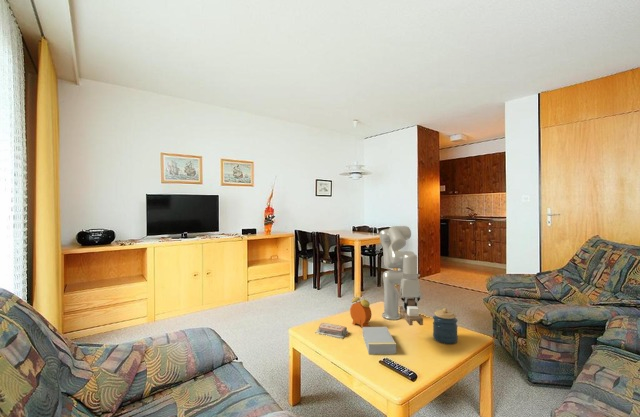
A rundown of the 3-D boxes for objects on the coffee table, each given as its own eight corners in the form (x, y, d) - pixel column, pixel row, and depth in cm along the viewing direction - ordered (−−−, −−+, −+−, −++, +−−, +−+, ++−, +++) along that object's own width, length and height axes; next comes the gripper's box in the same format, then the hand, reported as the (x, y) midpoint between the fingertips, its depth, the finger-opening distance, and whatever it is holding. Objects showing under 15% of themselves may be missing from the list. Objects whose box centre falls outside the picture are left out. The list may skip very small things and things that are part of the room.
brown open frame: (399, 311, 171) (399, 294, 171) (411, 311, 171) (411, 294, 171) (409, 325, 152) (409, 305, 152) (423, 325, 152) (422, 305, 152)
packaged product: (348, 325, 177) (342, 331, 168) (348, 333, 177) (342, 339, 168) (321, 320, 185) (314, 326, 176) (321, 327, 185) (314, 334, 176)
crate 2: (407, 313, 160) (407, 306, 160) (416, 313, 160) (416, 306, 160) (409, 316, 156) (409, 308, 156) (418, 316, 156) (418, 308, 156)
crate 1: (402, 308, 168) (402, 301, 168) (411, 308, 168) (411, 301, 168) (404, 310, 164) (404, 303, 164) (413, 310, 164) (413, 303, 164)
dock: (362, 335, 173) (362, 326, 173) (386, 335, 173) (386, 326, 173) (368, 354, 151) (368, 344, 151) (396, 354, 151) (396, 343, 151)
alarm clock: (372, 327, 184) (371, 295, 184) (365, 329, 181) (365, 297, 180) (356, 320, 195) (356, 290, 195) (350, 323, 191) (349, 292, 191)
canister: (434, 332, 175) (434, 303, 175) (458, 337, 169) (458, 306, 169) (431, 341, 164) (430, 310, 164) (456, 346, 158) (456, 314, 158)
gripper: (422, 274, 165) (423, 306, 165) (393, 274, 165) (393, 307, 165) (427, 277, 158) (428, 311, 158) (396, 278, 158) (397, 312, 158)
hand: (410, 309), depth 162 cm, fingers closed on brown open frame, 4 cm apart
